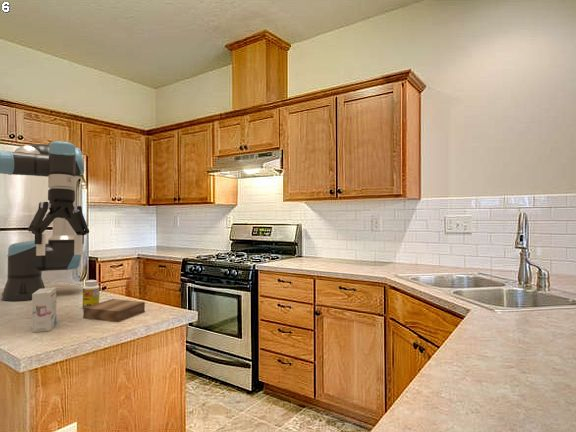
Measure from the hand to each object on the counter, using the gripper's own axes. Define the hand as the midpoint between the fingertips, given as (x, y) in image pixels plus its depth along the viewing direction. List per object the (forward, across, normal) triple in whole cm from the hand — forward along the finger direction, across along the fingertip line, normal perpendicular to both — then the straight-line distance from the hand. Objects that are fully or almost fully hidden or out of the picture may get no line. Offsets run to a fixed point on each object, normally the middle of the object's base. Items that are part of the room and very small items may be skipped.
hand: (60, 255), depth 120 cm
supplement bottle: (+20, +22, +10) cm, 31 cm away
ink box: (+23, -2, +4) cm, 23 cm away
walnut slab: (+22, +18, -6) cm, 29 cm away
